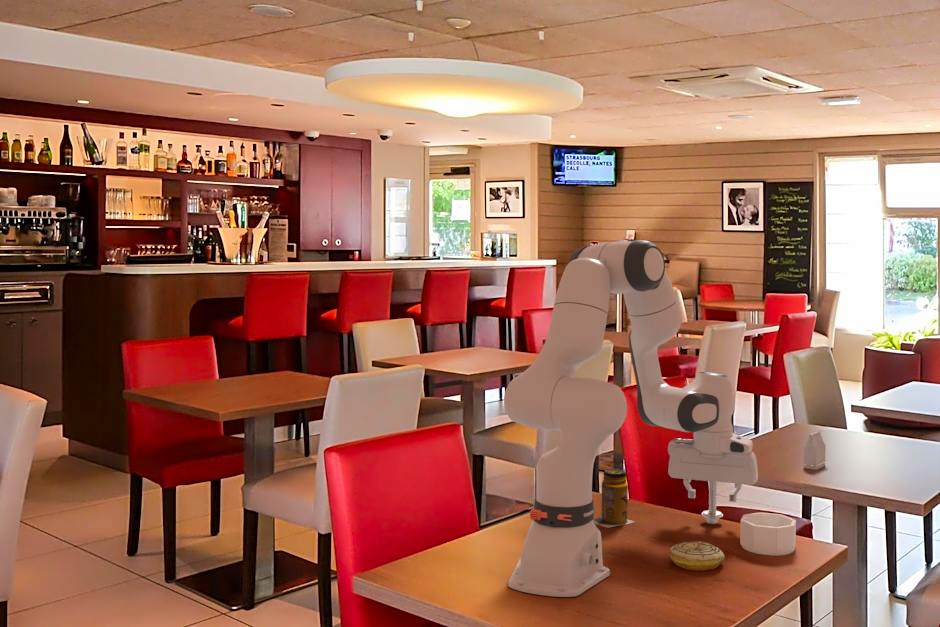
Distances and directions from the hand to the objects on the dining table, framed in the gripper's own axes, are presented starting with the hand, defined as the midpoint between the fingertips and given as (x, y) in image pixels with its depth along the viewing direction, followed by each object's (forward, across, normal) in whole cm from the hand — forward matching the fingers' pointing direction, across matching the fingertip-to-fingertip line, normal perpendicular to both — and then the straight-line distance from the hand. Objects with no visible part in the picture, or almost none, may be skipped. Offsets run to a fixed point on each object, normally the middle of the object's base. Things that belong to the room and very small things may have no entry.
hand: (712, 499), depth 223 cm
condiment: (+6, -22, -8) cm, 24 cm away
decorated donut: (+6, +2, -30) cm, 31 cm away
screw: (+6, 0, 0) cm, 6 cm away
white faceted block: (+6, +18, +68) cm, 70 cm away
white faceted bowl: (+5, +14, -14) cm, 21 cm away
